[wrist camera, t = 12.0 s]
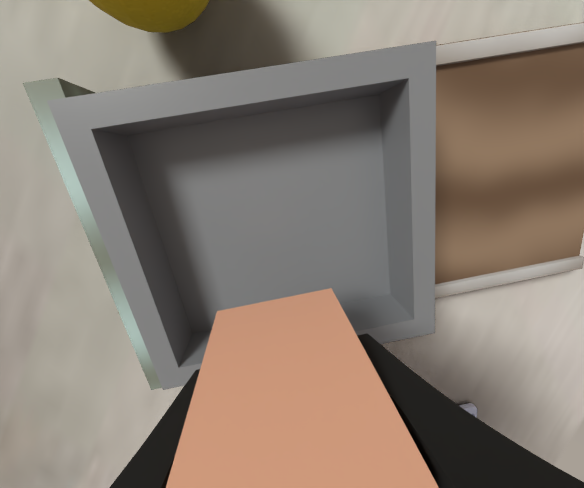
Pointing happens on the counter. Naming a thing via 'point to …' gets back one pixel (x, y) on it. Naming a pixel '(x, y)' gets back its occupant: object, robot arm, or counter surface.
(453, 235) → the track
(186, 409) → the robot arm
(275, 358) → the block
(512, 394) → the counter surface
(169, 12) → the lemon
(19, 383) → the counter surface
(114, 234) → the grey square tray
